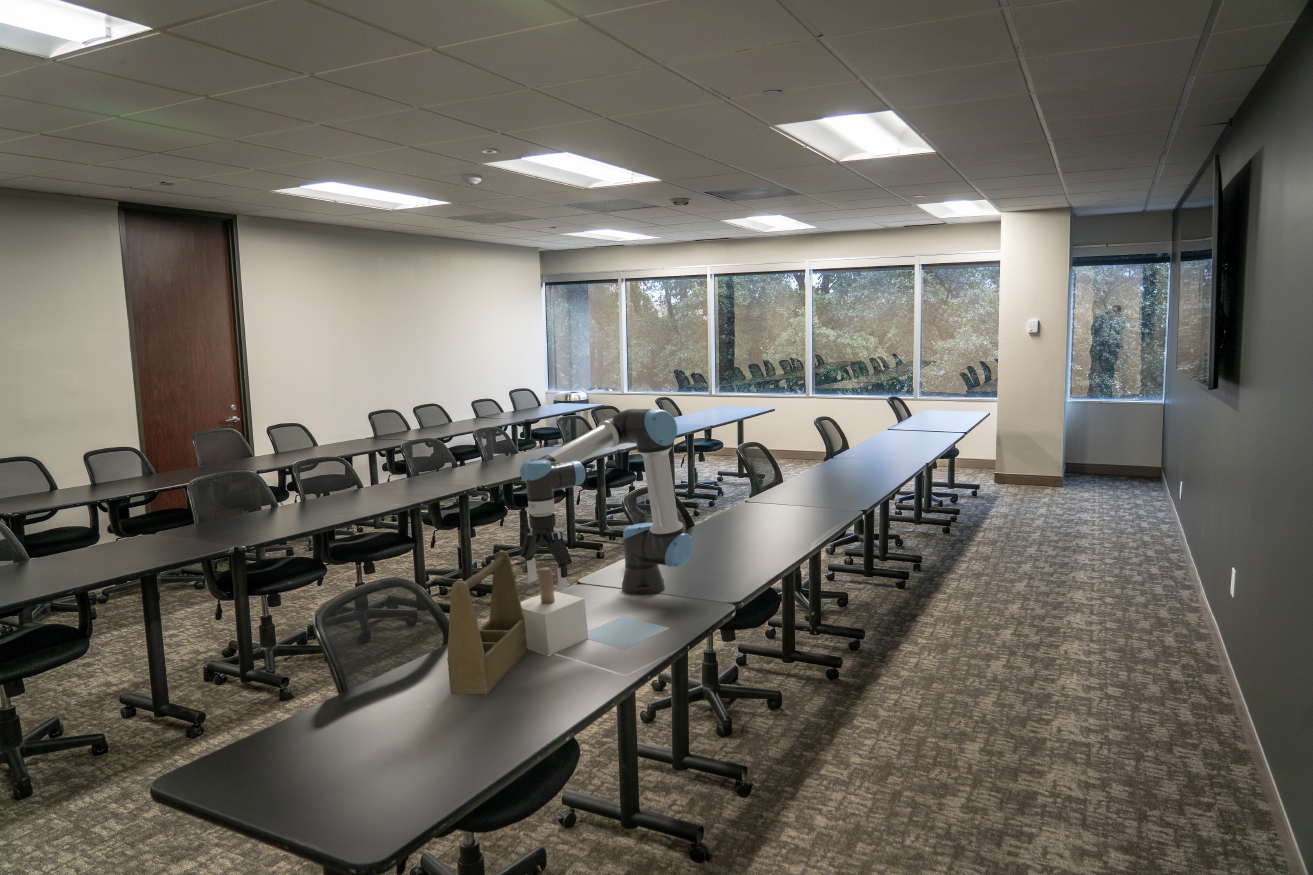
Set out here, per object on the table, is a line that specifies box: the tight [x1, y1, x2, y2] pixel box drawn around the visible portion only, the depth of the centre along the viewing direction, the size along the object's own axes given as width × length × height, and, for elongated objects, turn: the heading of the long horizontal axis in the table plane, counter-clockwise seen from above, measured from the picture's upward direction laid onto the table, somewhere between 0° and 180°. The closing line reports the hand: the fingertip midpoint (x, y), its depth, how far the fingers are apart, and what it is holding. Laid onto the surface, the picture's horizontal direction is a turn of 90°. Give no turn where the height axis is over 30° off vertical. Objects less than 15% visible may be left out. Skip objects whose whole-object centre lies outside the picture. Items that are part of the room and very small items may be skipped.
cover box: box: [520, 566, 589, 657], centre depth 245 cm, size 15×15×22 cm
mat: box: [587, 616, 671, 650], centre depth 250 cm, size 20×20×1 cm
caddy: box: [447, 550, 528, 695], centre depth 226 cm, size 29×11×30 cm, turn 168°
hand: (547, 584), depth 244 cm, fingers open, 13 cm apart
